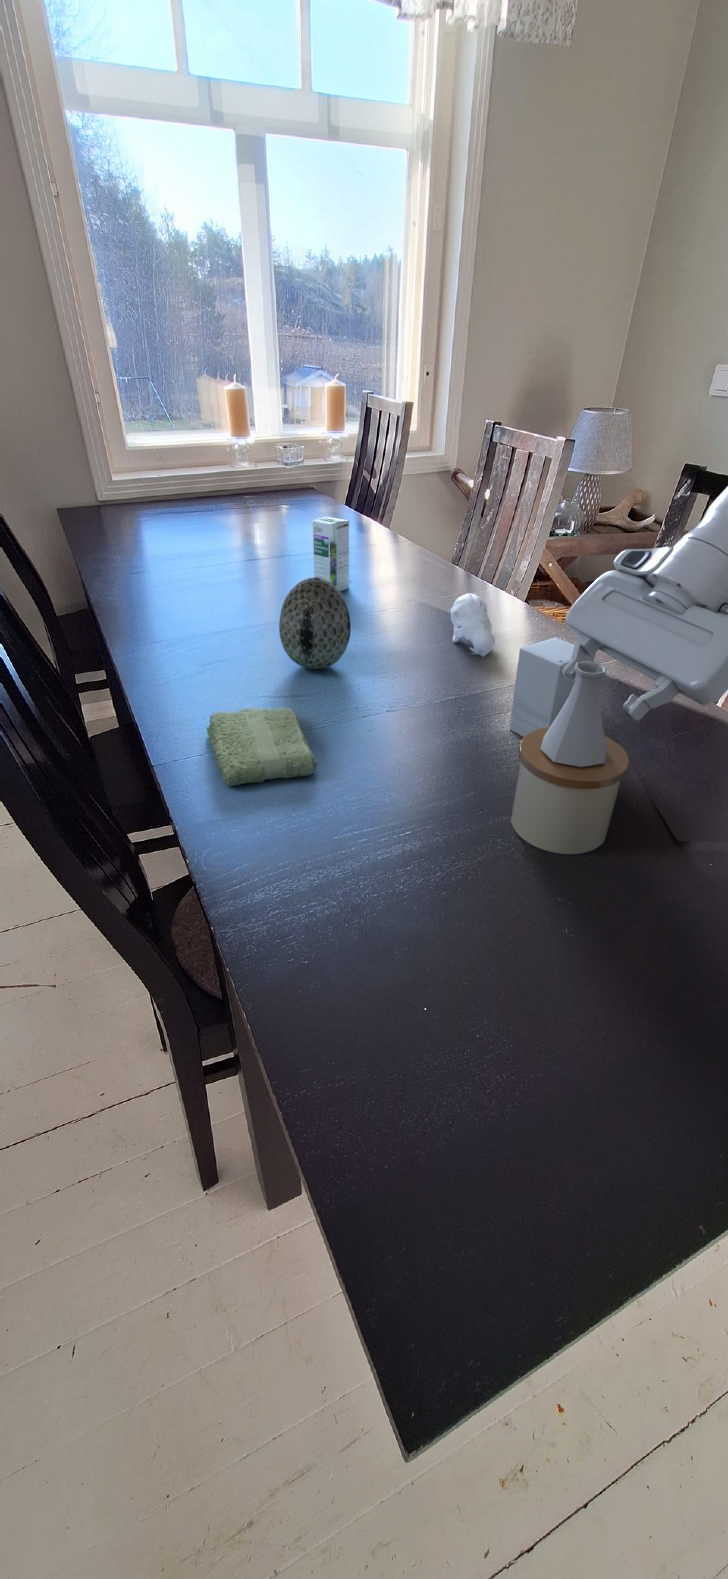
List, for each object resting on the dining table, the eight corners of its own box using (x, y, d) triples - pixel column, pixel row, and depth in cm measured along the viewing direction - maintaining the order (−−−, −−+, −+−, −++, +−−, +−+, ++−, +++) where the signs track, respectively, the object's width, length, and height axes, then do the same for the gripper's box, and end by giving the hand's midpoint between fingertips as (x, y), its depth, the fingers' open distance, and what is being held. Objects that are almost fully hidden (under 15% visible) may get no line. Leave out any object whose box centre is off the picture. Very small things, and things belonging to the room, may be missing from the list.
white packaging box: (581, 736, 99) (598, 653, 92) (544, 750, 95) (560, 665, 88) (542, 715, 104) (556, 635, 97) (506, 728, 100) (518, 646, 93)
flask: (534, 734, 79) (548, 652, 73) (598, 735, 79) (617, 653, 73) (546, 768, 73) (562, 681, 67) (615, 770, 73) (637, 683, 67)
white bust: (483, 588, 125) (510, 617, 116) (476, 631, 131) (502, 662, 122) (450, 590, 124) (475, 620, 115) (445, 634, 129) (468, 665, 121)
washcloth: (294, 716, 103) (293, 696, 101) (321, 779, 89) (320, 757, 87) (205, 727, 100) (202, 707, 98) (218, 794, 86) (215, 772, 84)
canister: (593, 796, 86) (610, 726, 81) (622, 856, 77) (644, 781, 71) (500, 796, 86) (511, 725, 80) (518, 855, 77) (531, 780, 71)
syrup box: (313, 589, 151) (310, 520, 143) (329, 583, 155) (328, 514, 147) (333, 595, 148) (333, 524, 140) (350, 587, 152) (350, 518, 144)
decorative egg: (293, 650, 123) (288, 565, 115) (357, 656, 121) (357, 570, 113) (272, 677, 114) (266, 587, 105) (341, 684, 112) (341, 593, 103)
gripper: (789, 644, 64) (683, 756, 66) (633, 581, 80) (551, 674, 82) (772, 604, 60) (659, 725, 62) (611, 546, 76) (525, 644, 78)
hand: (597, 695), depth 72 cm, fingers open, 8 cm apart
